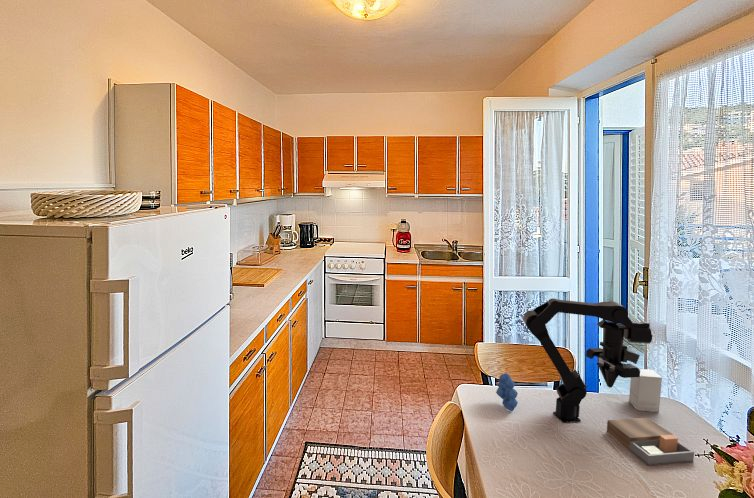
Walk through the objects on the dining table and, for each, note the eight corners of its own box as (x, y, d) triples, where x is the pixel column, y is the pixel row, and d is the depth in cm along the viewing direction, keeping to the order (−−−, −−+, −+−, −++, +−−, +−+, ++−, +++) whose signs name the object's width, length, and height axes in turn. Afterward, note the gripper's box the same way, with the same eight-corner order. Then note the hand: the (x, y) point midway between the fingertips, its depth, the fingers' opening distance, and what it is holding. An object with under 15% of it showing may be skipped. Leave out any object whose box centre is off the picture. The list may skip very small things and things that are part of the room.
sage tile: (641, 446, 122) (640, 452, 122) (651, 454, 118) (650, 461, 118) (654, 445, 122) (653, 452, 122) (664, 453, 118) (664, 460, 118)
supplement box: (659, 412, 147) (662, 377, 145) (636, 410, 148) (639, 375, 147) (650, 402, 154) (653, 369, 152) (628, 400, 155) (630, 367, 154)
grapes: (488, 400, 154) (489, 369, 153) (505, 399, 156) (507, 368, 154) (502, 416, 143) (504, 382, 142) (521, 415, 144) (523, 381, 143)
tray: (648, 466, 117) (649, 455, 117) (629, 450, 124) (630, 441, 124) (693, 462, 119) (694, 452, 118) (672, 447, 126) (673, 437, 126)
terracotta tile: (659, 448, 124) (664, 452, 122) (660, 435, 124) (665, 439, 122) (671, 447, 125) (676, 451, 123) (672, 434, 124) (678, 438, 123)
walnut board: (629, 450, 124) (630, 437, 124) (606, 432, 134) (607, 420, 133) (672, 447, 126) (673, 434, 125) (646, 429, 136) (647, 417, 135)
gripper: (658, 350, 129) (653, 398, 131) (616, 331, 147) (612, 374, 149) (624, 351, 128) (621, 400, 129) (586, 332, 146) (583, 375, 148)
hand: (609, 387), depth 139 cm, fingers closed
